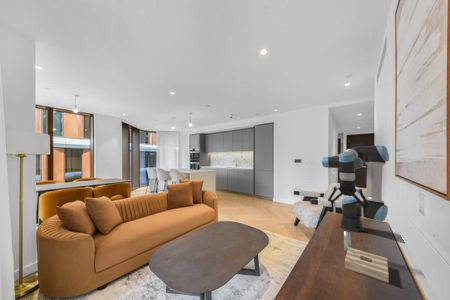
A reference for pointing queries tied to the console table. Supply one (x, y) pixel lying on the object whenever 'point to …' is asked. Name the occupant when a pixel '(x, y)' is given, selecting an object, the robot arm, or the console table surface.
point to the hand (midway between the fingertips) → (348, 216)
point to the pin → (347, 240)
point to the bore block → (367, 264)
